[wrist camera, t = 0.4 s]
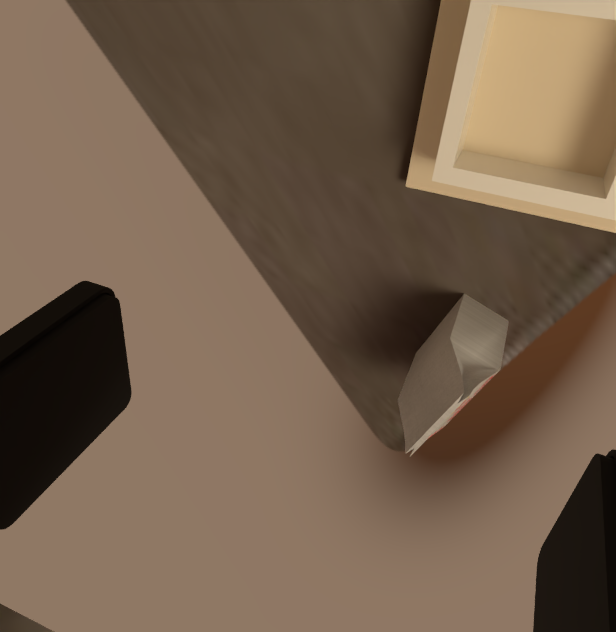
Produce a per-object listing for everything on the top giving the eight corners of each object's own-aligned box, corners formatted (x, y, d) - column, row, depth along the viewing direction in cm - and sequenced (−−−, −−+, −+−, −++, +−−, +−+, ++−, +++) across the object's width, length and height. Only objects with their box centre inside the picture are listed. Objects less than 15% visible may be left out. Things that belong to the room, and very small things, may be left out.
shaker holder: (458, -76, 29) (443, -79, 25) (765, -47, 25) (796, -47, 22) (408, 181, 37) (392, 205, 33) (636, 231, 33) (643, 263, 30)
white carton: (415, 353, 44) (382, 439, 36) (464, 293, 40) (438, 376, 32) (455, 378, 44) (430, 470, 36) (508, 320, 40) (493, 411, 32)
